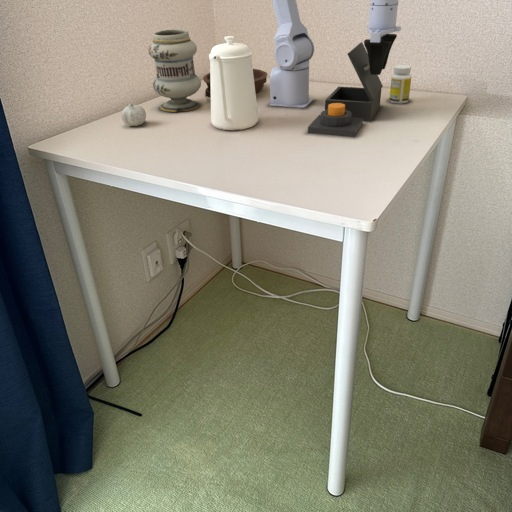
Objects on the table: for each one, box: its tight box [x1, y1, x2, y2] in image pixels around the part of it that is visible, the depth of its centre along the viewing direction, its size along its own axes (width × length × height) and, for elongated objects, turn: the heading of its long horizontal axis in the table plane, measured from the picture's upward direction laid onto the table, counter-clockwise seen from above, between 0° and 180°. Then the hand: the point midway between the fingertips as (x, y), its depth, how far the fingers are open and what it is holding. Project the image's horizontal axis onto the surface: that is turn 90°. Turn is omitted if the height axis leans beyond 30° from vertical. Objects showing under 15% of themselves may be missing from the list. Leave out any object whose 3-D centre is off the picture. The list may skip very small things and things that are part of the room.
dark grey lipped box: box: [324, 86, 383, 123], centre depth 116 cm, size 11×13×4 cm
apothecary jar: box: [148, 28, 202, 113], centre depth 122 cm, size 12×12×18 cm
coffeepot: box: [208, 35, 259, 131], centre depth 108 cm, size 11×25×19 cm, turn 168°
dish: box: [202, 68, 268, 99], centre depth 135 cm, size 18×22×5 cm
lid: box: [347, 41, 384, 101], centre depth 110 cm, size 11×13×4 cm
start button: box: [328, 103, 345, 116], centre depth 105 cm, size 4×4×2 cm
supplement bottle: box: [388, 64, 412, 105], centre depth 121 cm, size 5×5×8 cm
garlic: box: [121, 102, 147, 127], centre depth 114 cm, size 6×5×5 cm
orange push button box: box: [307, 109, 364, 138], centre depth 106 cm, size 10×9×4 cm
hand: (377, 71), depth 110 cm, fingers closed on lid, 5 cm apart
